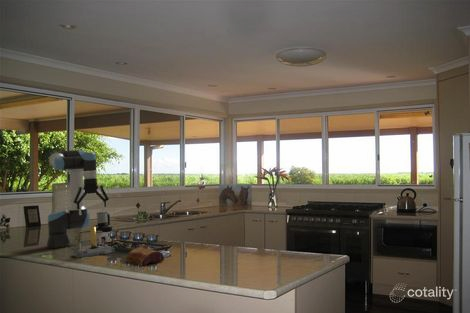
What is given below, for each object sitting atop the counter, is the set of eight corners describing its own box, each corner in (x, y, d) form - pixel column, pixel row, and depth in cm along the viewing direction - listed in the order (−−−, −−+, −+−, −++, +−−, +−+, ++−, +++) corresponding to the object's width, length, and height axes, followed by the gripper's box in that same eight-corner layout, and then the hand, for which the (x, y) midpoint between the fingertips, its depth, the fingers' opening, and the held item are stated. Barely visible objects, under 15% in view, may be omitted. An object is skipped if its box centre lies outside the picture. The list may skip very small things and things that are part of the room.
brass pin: (90, 254, 270) (89, 227, 270) (96, 253, 272) (94, 226, 272) (92, 254, 267) (90, 227, 268) (97, 253, 269) (96, 227, 269)
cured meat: (146, 255, 257) (145, 243, 257) (171, 260, 239) (170, 247, 239) (117, 261, 245) (116, 249, 245) (141, 267, 227) (140, 254, 227)
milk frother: (106, 230, 378) (105, 212, 379) (87, 231, 379) (87, 213, 379) (111, 227, 393) (110, 210, 393) (93, 228, 393) (92, 211, 393)
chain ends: (73, 255, 268) (72, 249, 268) (110, 250, 279) (110, 244, 280) (76, 258, 259) (76, 251, 259) (115, 252, 271) (114, 246, 271)
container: (110, 247, 291) (109, 226, 291) (99, 247, 292) (98, 227, 293) (116, 244, 298) (115, 225, 299) (105, 245, 300) (104, 225, 300)
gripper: (69, 179, 261) (71, 216, 260) (112, 176, 273) (114, 211, 273) (67, 179, 267) (69, 215, 267) (109, 176, 280) (111, 211, 280)
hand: (92, 213), depth 270 cm, fingers open, 13 cm apart
